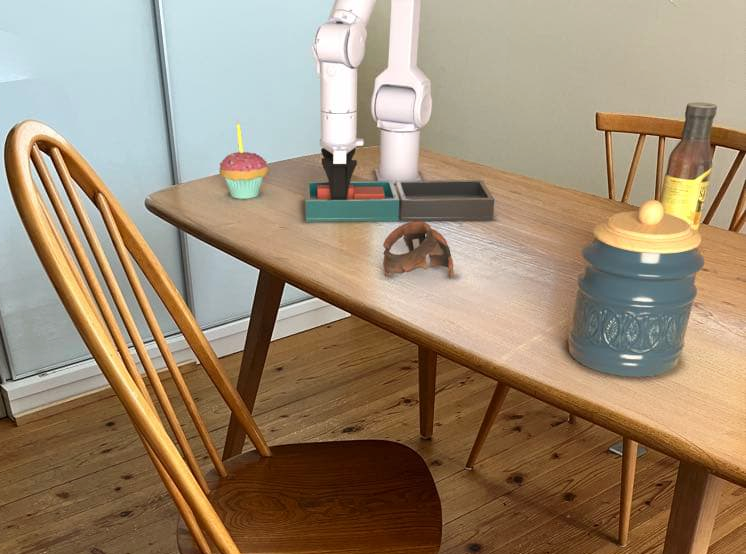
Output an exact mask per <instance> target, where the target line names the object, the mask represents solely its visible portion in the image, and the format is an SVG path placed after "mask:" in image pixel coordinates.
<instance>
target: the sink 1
mask: <svg viewBox="0 0 746 554" xmlns="http://www.w3.org/2000/svg"><path fill="white" fill-rule="evenodd" d="M317 185H329V182H328V180H310V181H309V180H306V181H305V180H304V210H305V211H304V212H305V222H306V223H346V222H347V223H353V222H354V223H356V222H359V223H361V222H363V223H364V222H365V223H366V222H367V223H368V222H399V218H400V217H399V198H398V195H397V192H396V189H395V184H394V183H393V181H378V180H350V183H349V185H353V186H354V187H383V190H384V199H318V198H317Z"/></svg>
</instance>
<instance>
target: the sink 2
mask: <svg viewBox="0 0 746 554" xmlns="http://www.w3.org/2000/svg"><path fill="white" fill-rule="evenodd" d="M394 186H395V189H396V192H397V195H398V198H399V217H398V218H399V220H400V222H413V221H414V220H418V221H421V222H456V221H457V222H463V221H466V222H467V221H468V222H470V221H475V222H477V221H478V222H479V221H493V219H494V209H495V201H496V200H495V198H494V196H493V195H492V193H491V191H490V190H489V188H488V187H487V185H486V183H485V182H484V180H483V179H459V180H457V179H451V180H450V179H445V180H443V179H442V180H441V179H439V180H437V179H435V180H422V181H395V184H394Z"/></svg>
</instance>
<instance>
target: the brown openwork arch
mask: <svg viewBox="0 0 746 554" xmlns="http://www.w3.org/2000/svg"><path fill="white" fill-rule="evenodd" d="M402 238H403V242H404V243H405V245H406V247H407V248H408V251H407V252H404V253H399V254H398V253H396V254H395V253H392V252H390V250H391V248H392V247H393V245H395V244H396V243H397V242H398V241H399V240H400V239H402ZM383 247H384V251H383V252H382V253H383V254H382V255H383V261H382V268H383V272H384V275H385V276H386V277H389V276H390V274H399V275H402V274H404V273H405V272H406V273H410V272H413V271H415V270H417V269H423V270H428V269H429V268H428V263H427V262H428V261H427V256H428V257H429V260H430V266H431V267H443V268H447V269H448V270H449V277H450V278H451V279H452V278H454V277H455V271H454V261H453V257H452V254H451V250H450V246H449V244H448V241H447V239H446V238H445V237H444V236H443V234H441V233H440V232H438V231H437V230H435V229H433V228H432V227H431V226H430V224H428V223H427V222H426V221H418V220H414V221H408V222H406V223H403V224H401V225H400V226H398V227H397V228H395V229H394V230H392V232H390V233H389V234H388V235H387V237H386V238H385V239H384V241H383Z"/></svg>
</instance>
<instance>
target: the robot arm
mask: <svg viewBox="0 0 746 554" xmlns="http://www.w3.org/2000/svg"><path fill="white" fill-rule="evenodd" d="M376 2H377V0H335V1H334V4H333V6H332V8H331V11H330V14H329V16H328V19H327V21H326V22H324V23H322V24H321V25H320V26H319V27H317V29H316V31H315V33H314V36H313V43H312V47H311V48H312V55H313V56H312V57H313V58H314V61H315V64H316V74H317V77H318V78H319V79H320V83H319V85H320V87H319V88H320V139H319V146H320V147H321V149H320V151H321V152H320V153H321V154H322V158H321V166H322V168H323V170H324V171H325V175H326V177H327V181H328V182H329V187H330V194H331V199H347V195H348V189H349V183H350V181H351V180H352V176H353V173H354V172H355V170H356V167H357V166H358V160H357V159H353V158H354V156H355V154H356V148H357V147H360V146H361V147H362V146H364V143H365V139H364V138H357V133H358V132H357V127H358V124H357V123H358V122H357V121H358V67H359V66H360V65H361V63H362V60H363V59H364V56H365V52H366V40H367V38H368V31H367V27H368V25H369V21H370V19H371V16H372V14H373V11H374V9H375V5H376ZM421 7H422V0H391V1H390V20H389V21H390V23H389V37H388V39H389V41H388V57H387V58H388V60H387V67H386V68H385V69H384V70H382V72H380V73H379V74H378V75H377V76H376V77H375V78H374V86H373V92H372V95H371V98H370V113H371V114H370V115H371V116H372V119H373V121H374V122H375V123H376V127H377V128H380V132H379V133H380V136H379V167H376V168H375V169H374V173H375V175H376V179H377V181H393V183H394V185H395V181H423V180H422V176H421V175H420V172H419V163H420V162H419V161H420V141H421V129H423V128H424V127H426V125H427V124H428V122H429V121H430V118H431V115H432V111H433V98H432V89H431V88H432V83H431V82H432V81H431V80H430V78H429V77H428V76H427V75H426V74H425V73H424V72H423V71H422V70H421V69H420V68H419V67H418V51H419V35H420V34H419V33H420V19H421Z"/></svg>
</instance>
